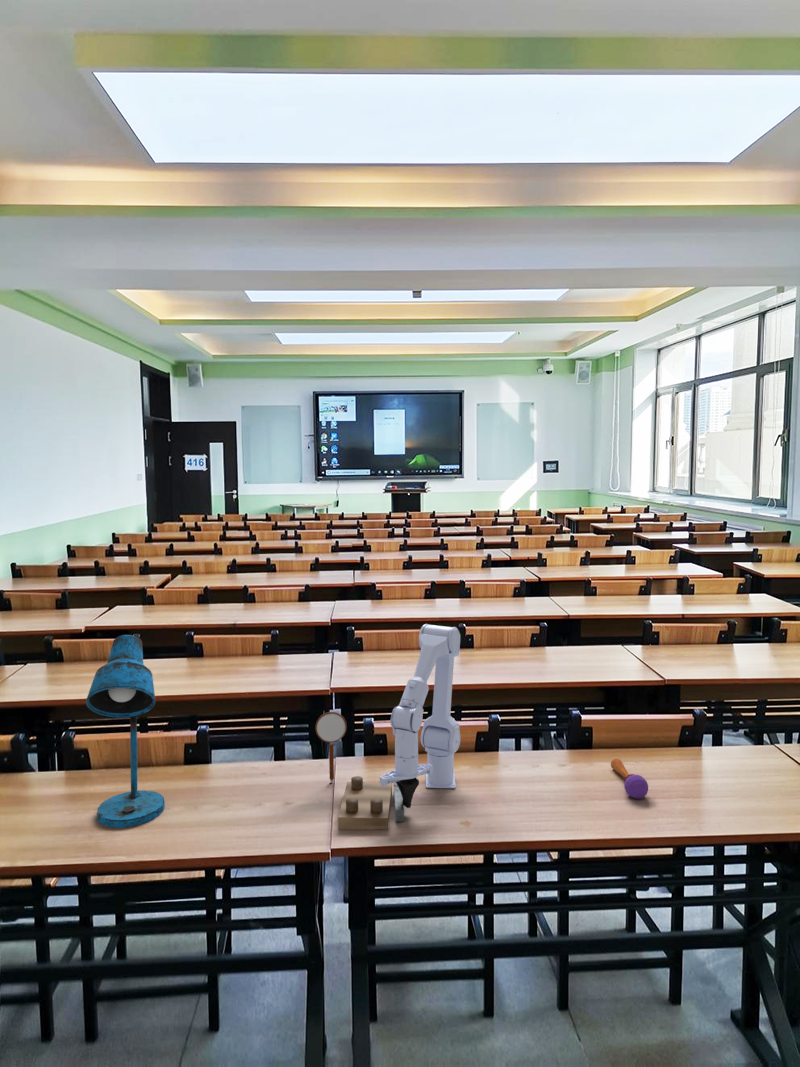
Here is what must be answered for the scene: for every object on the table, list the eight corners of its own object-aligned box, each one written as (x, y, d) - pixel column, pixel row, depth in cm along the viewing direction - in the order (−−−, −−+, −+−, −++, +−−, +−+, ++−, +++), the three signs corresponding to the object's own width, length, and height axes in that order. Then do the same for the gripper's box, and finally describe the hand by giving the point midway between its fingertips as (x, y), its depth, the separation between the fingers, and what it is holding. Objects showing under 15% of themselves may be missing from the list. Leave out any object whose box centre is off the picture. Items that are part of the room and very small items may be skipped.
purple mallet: (628, 756, 200) (653, 781, 180) (624, 776, 200) (649, 804, 180) (608, 752, 200) (630, 777, 180) (604, 772, 200) (626, 800, 180)
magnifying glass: (347, 780, 194) (346, 710, 192) (347, 783, 192) (346, 712, 190) (316, 781, 193) (315, 711, 191) (316, 784, 191) (314, 713, 189)
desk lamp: (85, 841, 162) (76, 652, 158) (105, 798, 183) (97, 630, 179) (158, 834, 165) (151, 648, 161) (168, 792, 187) (162, 627, 182)
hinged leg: (393, 793, 185) (393, 780, 185) (401, 793, 185) (401, 780, 185) (395, 821, 170) (395, 807, 170) (403, 821, 170) (403, 807, 170)
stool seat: (347, 792, 186) (347, 772, 186) (392, 793, 186) (392, 773, 185) (338, 829, 167) (337, 807, 167) (388, 830, 167) (387, 808, 166)
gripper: (422, 742, 180) (422, 793, 181) (373, 754, 173) (373, 807, 174) (437, 751, 174) (437, 804, 175) (387, 764, 167) (388, 819, 168)
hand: (406, 806), depth 174 cm, fingers closed, pressing on hinged leg
